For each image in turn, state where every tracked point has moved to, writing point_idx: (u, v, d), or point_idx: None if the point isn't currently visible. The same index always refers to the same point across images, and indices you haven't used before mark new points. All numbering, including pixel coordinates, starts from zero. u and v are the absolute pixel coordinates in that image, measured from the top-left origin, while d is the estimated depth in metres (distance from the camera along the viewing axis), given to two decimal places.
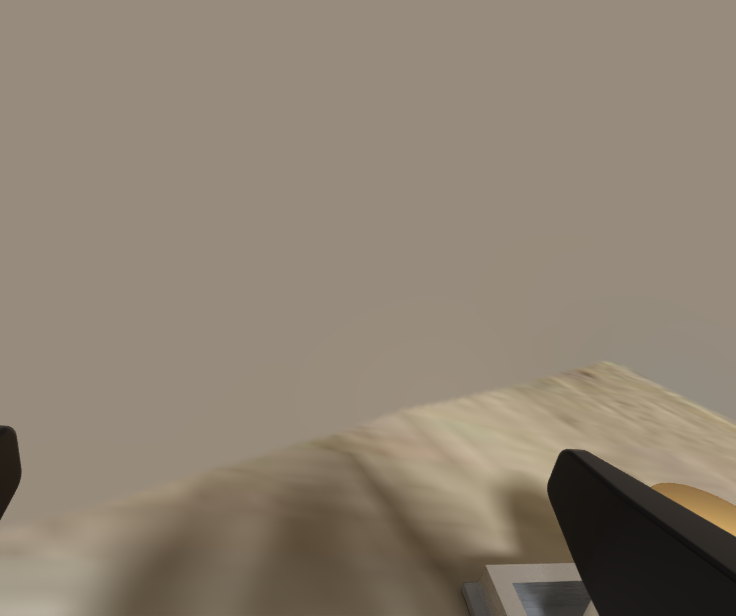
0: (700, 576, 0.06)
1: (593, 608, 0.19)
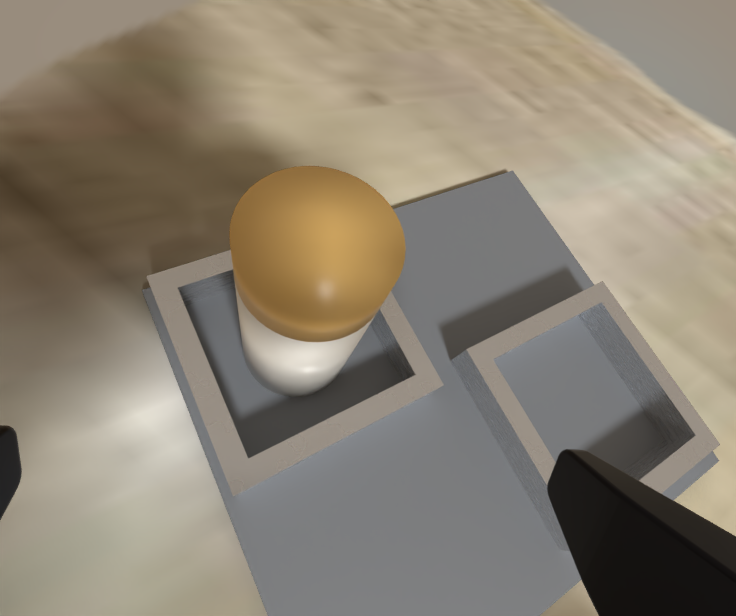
0: (700, 575, 0.06)
1: None
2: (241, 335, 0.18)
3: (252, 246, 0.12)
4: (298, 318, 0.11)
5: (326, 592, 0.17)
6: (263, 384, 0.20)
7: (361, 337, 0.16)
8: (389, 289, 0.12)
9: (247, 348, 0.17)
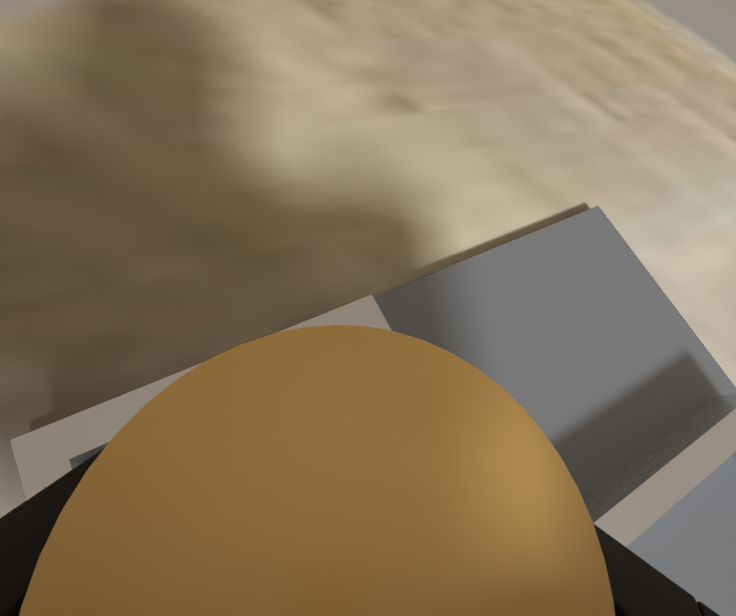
0: None
1: None
2: None
3: None
4: None
5: None
6: None
7: None
8: None
9: None
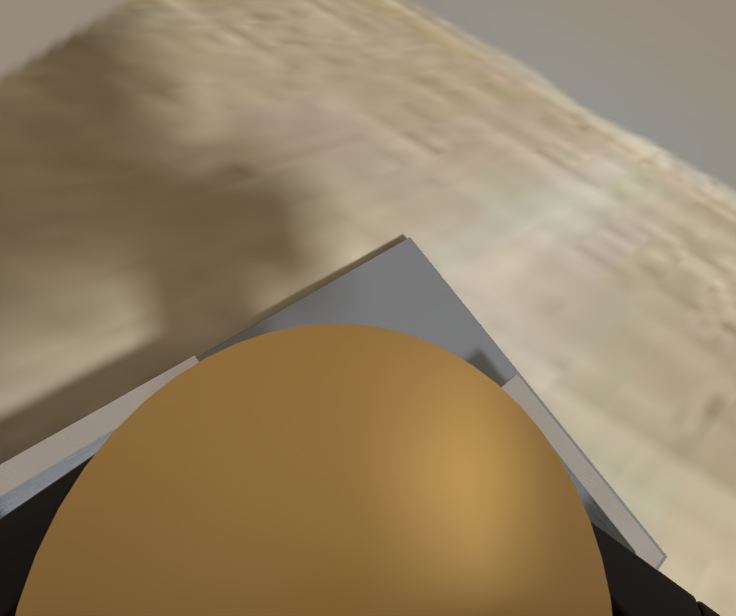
0: None
1: None
2: None
3: None
4: None
5: None
6: None
7: None
8: None
9: None
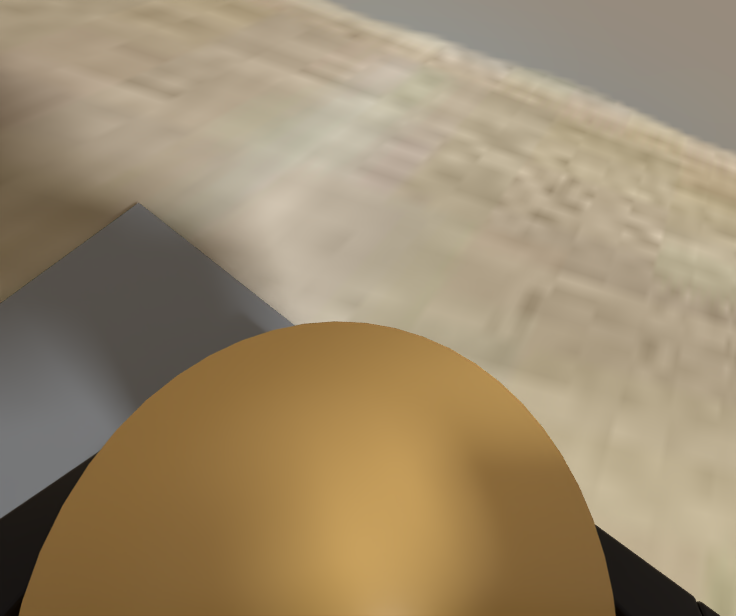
0: None
1: None
2: None
3: None
4: None
5: None
6: None
7: None
8: None
9: None
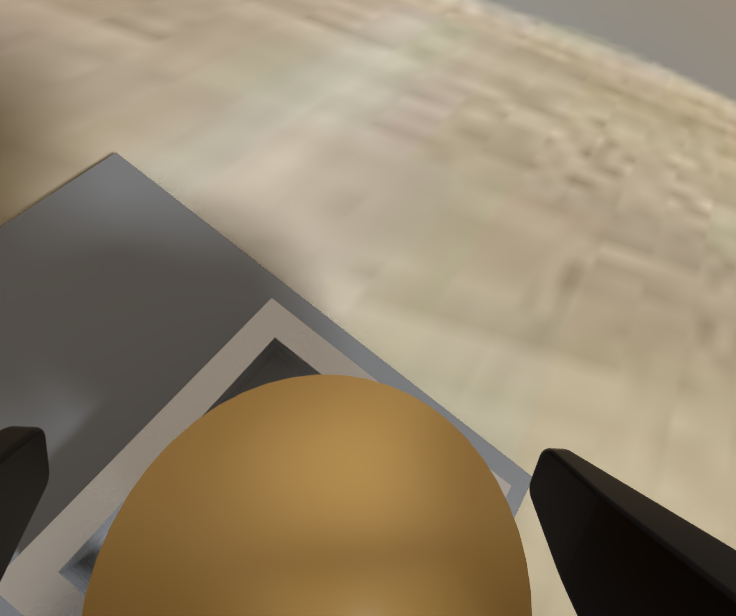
0: (676, 576, 0.05)
1: None
2: None
3: None
4: None
5: None
6: None
7: None
8: None
9: None
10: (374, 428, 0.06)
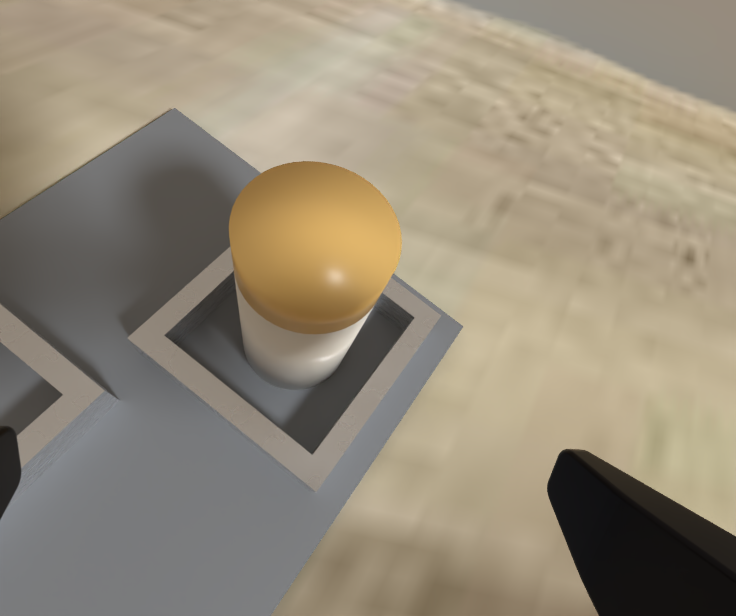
0: (700, 576, 0.06)
1: None
2: (241, 329, 0.18)
3: (251, 240, 0.12)
4: (296, 310, 0.12)
5: None
6: (263, 377, 0.20)
7: (359, 330, 0.16)
8: (385, 282, 0.12)
9: (247, 341, 0.17)
10: (338, 182, 0.13)
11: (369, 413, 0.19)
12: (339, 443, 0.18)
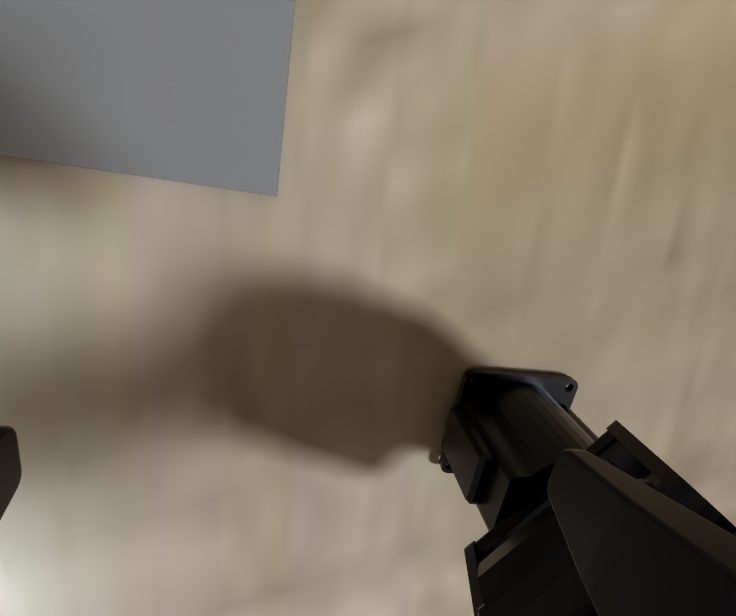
0: (700, 576, 0.06)
1: None
2: None
3: None
4: None
5: (128, 108, 0.16)
6: None
7: None
8: None
9: None
10: None
11: None
12: None
